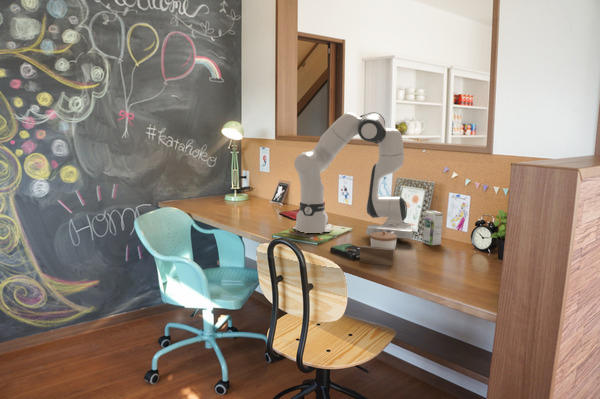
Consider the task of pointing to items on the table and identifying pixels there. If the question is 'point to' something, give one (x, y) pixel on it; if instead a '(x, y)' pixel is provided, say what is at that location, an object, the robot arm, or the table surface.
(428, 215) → the syrup box
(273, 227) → the table surface
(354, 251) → the disk drive
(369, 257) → the walnut board
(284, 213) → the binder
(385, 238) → the lidded jar
